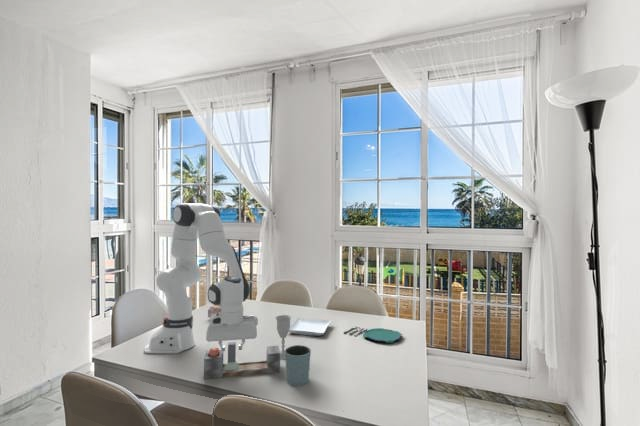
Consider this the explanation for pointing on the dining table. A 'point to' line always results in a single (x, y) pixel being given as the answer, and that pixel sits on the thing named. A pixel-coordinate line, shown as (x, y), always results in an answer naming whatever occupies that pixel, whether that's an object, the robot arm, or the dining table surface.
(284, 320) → the chalice
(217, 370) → the rail
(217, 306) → the food item
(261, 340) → the dining table surface
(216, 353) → the button
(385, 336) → the cutlery set
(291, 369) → the blue-grey cup
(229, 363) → the carriage
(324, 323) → the salad plate
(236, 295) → the robot arm
